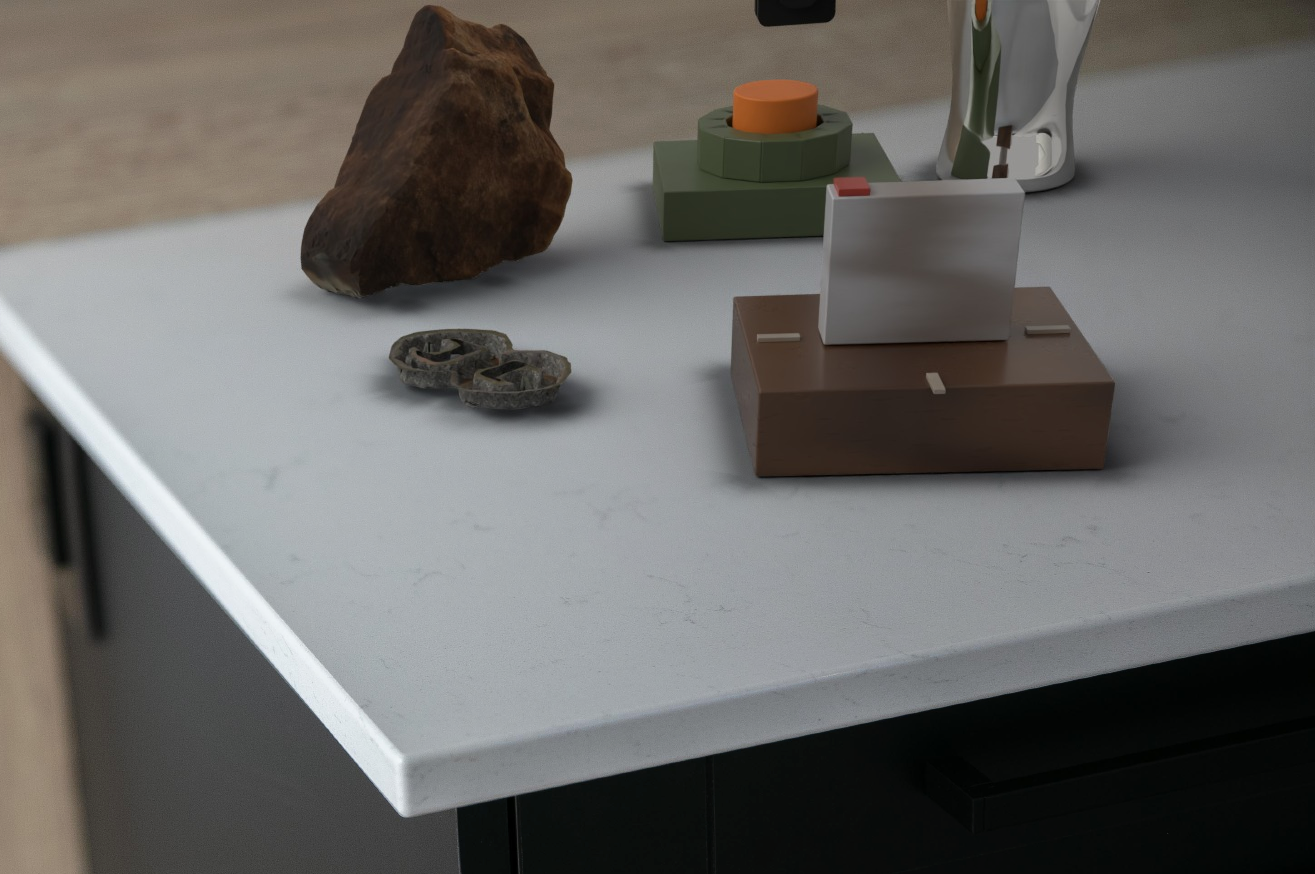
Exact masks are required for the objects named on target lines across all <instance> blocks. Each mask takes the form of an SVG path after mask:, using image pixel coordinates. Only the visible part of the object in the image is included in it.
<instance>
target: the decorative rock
mask: <svg viewBox="0 0 1315 874" xmlns="http://www.w3.org/2000/svg"><path fill="white" fill-rule="evenodd" d="M554 93H555V82H554V81H553V79H552V77H550V76H549V75H548V73H547V71H546V70H545V68H544V67H543V66H542V64H541V62H540V60H539V59H538V57H537V56H536V54H535V52H534V50H533V49H532V47H531V46H530V44H529V43H528V42H527V40H526V38H524V37H523V36H522V35H521V34H519V33H518V32H517V31H516V30H515V29H513V28H512V27H510V26H509V25H507V24H504V23H497V24H495V25H493V26H491V27H487V26H485V25H483V24H481V23H477V22H474V21H470V20H465V19H461V18H460V17H458V16H456V15H455V14H454V13H453V12H451V11H450V10H448V9H447V8H445V7H443V6H441V5H435V4H426V5H424V6H422V7H421V8H420V9H419V10H418V11H416V13H415V14H414V16H413V18H412V21H411V23H410V26H409V29H408V31H407V33H406V36H405V38H404V42H403V46H402V49H401V51H400V52H399V54H398V56H396V58H395V61H394V62H393V65H392V69H391V72H390V74H388V75H385V76H383V77H381V78H380V79H379V80H378V81H377V82H376V84H375V85H374V86H373V87H372V89H371V90H370V91H369V93H368V95H367V98H366V99H365V102H364V105H363V107H362V109H361V113H360V116H359V117H358V118H359V119H358V121H357V123H356V125H355V130H354V133H353V135H352V137H351V142H350V144H349V147H348V148H347V152H346V155H345V156H344V158H343V161H342V163H341V165H340V168H339V170H338V173H337V176H336V180H335V182H334V185H333V188H331V189H330V190H328V191H327V193H326V194H325V195H324V196H323V197H322V198H321V200H319V201H318V203H317V204H316V206H315V207H314V209H313V211H312V212H311V214H310V215H309V218H308V219H307V222H306V224H305V226H304V229H303V233H302V239H301V245H300V258H299V259H300V268H301V270H302V271H303V273H304V275H305V276H306V277H307V278H308V279H309V280H310V281H311V282H312V284H314V285H315V286H316V287H318V288H319V289H321V290H324V291H326V292H333V293H335V294H344V295H348V296H350V297H352V298H354V297H356V298H357V299H362V298H363V297H368V296H372V295H375V294H376V293H379V294H381V295H382V294H384V293H385V292H386V290H388V289H391V288H396V287H401V286H423V285H429V284H432V283H435V284H436V283H440V284H441V283H453V282H459V281H466V280H467V281H469V280H472V279H475V278H477V277H479V276H480V275H481V274H482V273H483V272H487V271H488V270H489V269H490V268H493V267H495V266H497V265H501V264H503V263H504V262H518V261H520V260H522V259H524V258H528V257H531V256H535V255H538V254H542V253H544V252H545V251H546V250H547V249H548V248H549V247H550V246H551V244H552V242H553V240H554V237H555V235H556V234H557V232H558V231H559V229H560V227H561V224H562V222H563V220H564V217H565V213H566V208H567V205H568V202H569V199H570V197H571V195H572V189H573V188H572V187H573V175H572V172H571V171H570V170H569V169H567V166H566V159H565V158H566V157H565V153H564V151H563V150H562V148H561V146H560V145H559V144H558V142H557V140H556V138H555V137H554V135H553V133H552V131H551V129H550V128H551V122H552V117H553V104H554V103H553V102H554Z"/></svg>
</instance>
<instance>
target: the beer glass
mask: <svg viewBox="0 0 1315 874" xmlns="http://www.w3.org/2000/svg"><path fill="white" fill-rule="evenodd" d="M1100 4H1101V0H946V10H947V21H948V31H949V32H948V33H949V43H950V44H949V45H950V58H951V72H952V73H951V75H952V78H951V79H952V80H951V81H952V82H951V99H950V106H949V113H948V117H947V118H948V119H947V123H946V127H945V131H944V134H943V138H942V141H941V145H940V149H939V151H938V152H939V153H938V156H937V161H936V165H935V173H936V175H937V176H938V178H939V179H940V180H968V179H997V178H1015V179H1016V180H1017V182H1018V183H1019V185H1020V186H1021V187H1022V189H1023V190H1024V192H1025V193H1034V192H1042V191H1047V190H1052V189H1055V188H1059V187H1061V186H1063V185H1066V184H1067V183H1069V182H1070V181H1071V180H1073V178H1074V176H1075V173H1076V157H1075V142H1074V106H1075V105H1074V103H1075V96H1076V89H1077V88H1078V79H1079V76H1080V75H1079V74H1080V71H1081V68H1082V65H1083V60H1084V57H1085V53H1086V50H1087V46H1088V43H1089V40H1090V36H1091V33H1092V30H1093V27H1094V24H1095V20H1096V17H1097V14H1098V10H1099V6H1100Z"/></svg>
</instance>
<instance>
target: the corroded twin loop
mask: <svg viewBox="0 0 1315 874" xmlns="http://www.w3.org/2000/svg"><path fill="white" fill-rule="evenodd" d="M454 355H455V356H456V355H457V357H454V358H452V359H451V356H454ZM388 360H390V362H391V363H393V365H394V366H395V367H397V372H398V377H399V379H400V382H401V383H402V384H404V385H406V386H411V387H412V386H413V387H416V388H420V389H422V390H423V389H425V390H427V389H428V390H429V389H451V388H452V389H457V390H458V395H459V399H460V401H461V404H462V405H465V406H467V407H470V408H473V409H476V408H487V409H493V410H522V409H528V408H538V407H540V406H544V405H547V404H551V403H553V402H554V401H555V398H556V396H557V395H558V394H559V392H560V388H561V386H562V384H564V382H565V381H566V380H567V379H568V378H569V376H570V375H571V374H572V363H571V362H570V361H569V360H568V357H566V356H564V355H561V354H558V353H555V352H553V351H549V350H544V349H538V350H537V349H536V350H535V349H534V350H532V349H530V350H529V349H528V350H527V349H525V350H524V349H523V350H519V349H514V348H513V342H512V340H511V339H510V338H509V336H508V335H507V333H504V332H500V331H497V330H493V329H477V328H442V329H440V328H439V329H433V330H432V329H431V330H422V331H416V332H411V333H409V334H406V335H403V336H401V337H399V338H398V339H397V340H396V341H394V342H393V344H392V345H391V346H390V351H389V355H388Z"/></svg>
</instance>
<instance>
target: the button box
mask: <svg viewBox="0 0 1315 874" xmlns="http://www.w3.org/2000/svg"><path fill="white" fill-rule="evenodd" d="M732 126H733V105H730V106H725V107H720V108H717V109H716V108H715V109H713V110H712V111H710V112H708V113H706V114H705V115H703V116H701V117H699V118H698V119H697V134H696V135H697V138H696V139H687V140H686V139H685V140H684V139H683V140H659V141H658V140H656V141H653V144H652V145H653V147H652V149H653V150H652V153H653V154H652V190H653V195H654V196H653V197H654V201H655V206H656V210H657V216H658V222H659V227H660V231H661V237H662V238H661V239H662V241H663V242H682V241H683V242H685V241H712V240H715V241H716V240H740V239H741V240H742V239H768V238H796V237H797V238H798V237H824V222H825V206H826V189H827V185H828V184H834V178H847V177H865V178H866V180H867V182H868V183H882V182H902V180H901V178H900V176H899V175H898V173H897V171H896V169H895V168H894V165H893V164H892V162H891V160H890V159H889V156H888V155H887V153H886V152H885V150H884V148H883V147H882V145H881V142H880V141H879V140H878V137H877V136H876V135H875V133H874V132H859V133H857V132H856V133H853V126H854V123H853V121H852V119H851V118H850V115H849V114H848V113H847V112H846V111H844V110H840V109H837V108H833V107H831V106H827V105H824V104H818V106H817V123H816V128H814V129H810V130H805V131H800V132H795V133H779V134H761V133H751V132H743V131H740V130H737V129H734V128H732Z"/></svg>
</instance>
